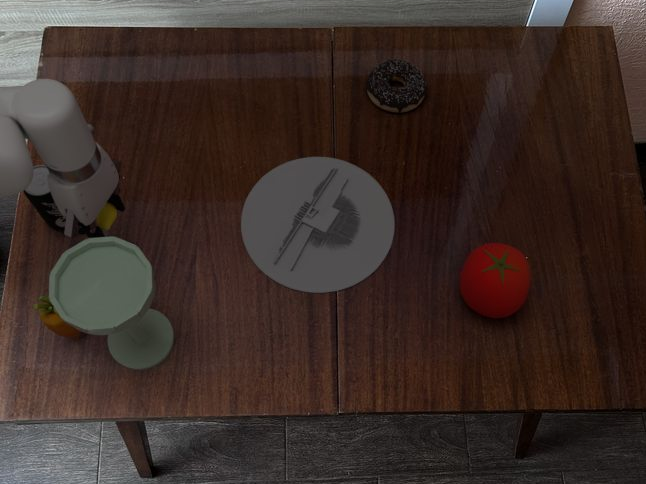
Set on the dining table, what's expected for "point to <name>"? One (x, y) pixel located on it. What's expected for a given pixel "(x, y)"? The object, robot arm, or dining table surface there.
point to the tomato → (495, 280)
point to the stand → (143, 342)
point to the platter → (102, 285)
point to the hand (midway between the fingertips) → (106, 221)
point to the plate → (317, 224)
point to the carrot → (54, 319)
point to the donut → (396, 97)
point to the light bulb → (106, 217)
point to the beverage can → (44, 199)
